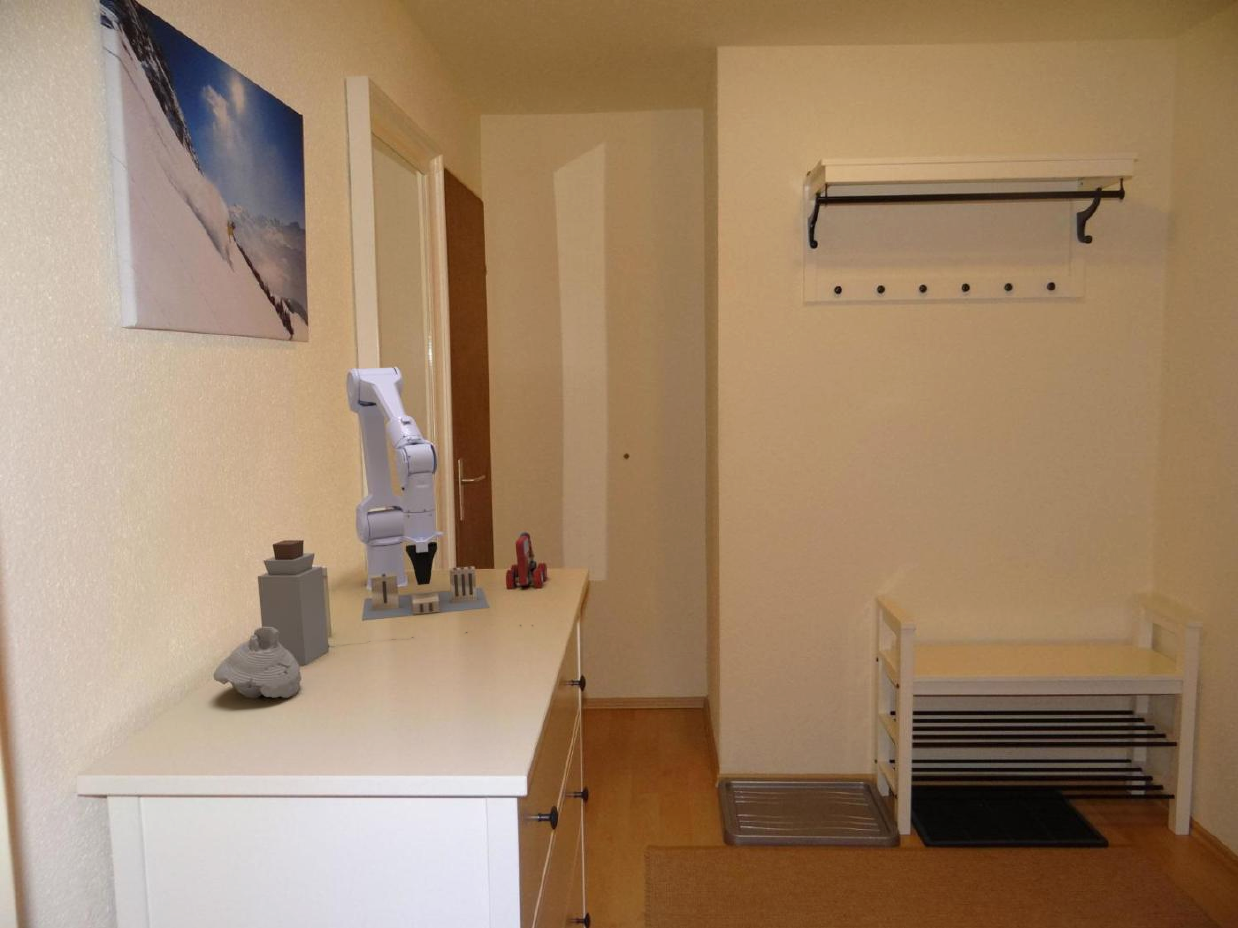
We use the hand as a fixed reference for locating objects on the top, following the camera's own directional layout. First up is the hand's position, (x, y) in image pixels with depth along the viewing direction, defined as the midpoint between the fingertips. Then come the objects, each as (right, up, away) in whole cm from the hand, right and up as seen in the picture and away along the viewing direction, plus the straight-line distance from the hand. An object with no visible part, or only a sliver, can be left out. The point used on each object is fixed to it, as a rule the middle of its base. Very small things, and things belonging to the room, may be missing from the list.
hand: (423, 583), depth 168 cm
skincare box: (-15, -7, -19) cm, 25 cm away
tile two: (+1, -3, -1) cm, 3 cm away
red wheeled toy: (+18, -3, +13) cm, 22 cm away
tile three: (+7, -3, +2) cm, 8 cm away
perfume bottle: (-14, -8, -27) cm, 31 cm away
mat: (0, -4, +1) cm, 4 cm away
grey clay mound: (-13, -10, -42) cm, 45 cm away
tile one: (-6, -4, -1) cm, 8 cm away
